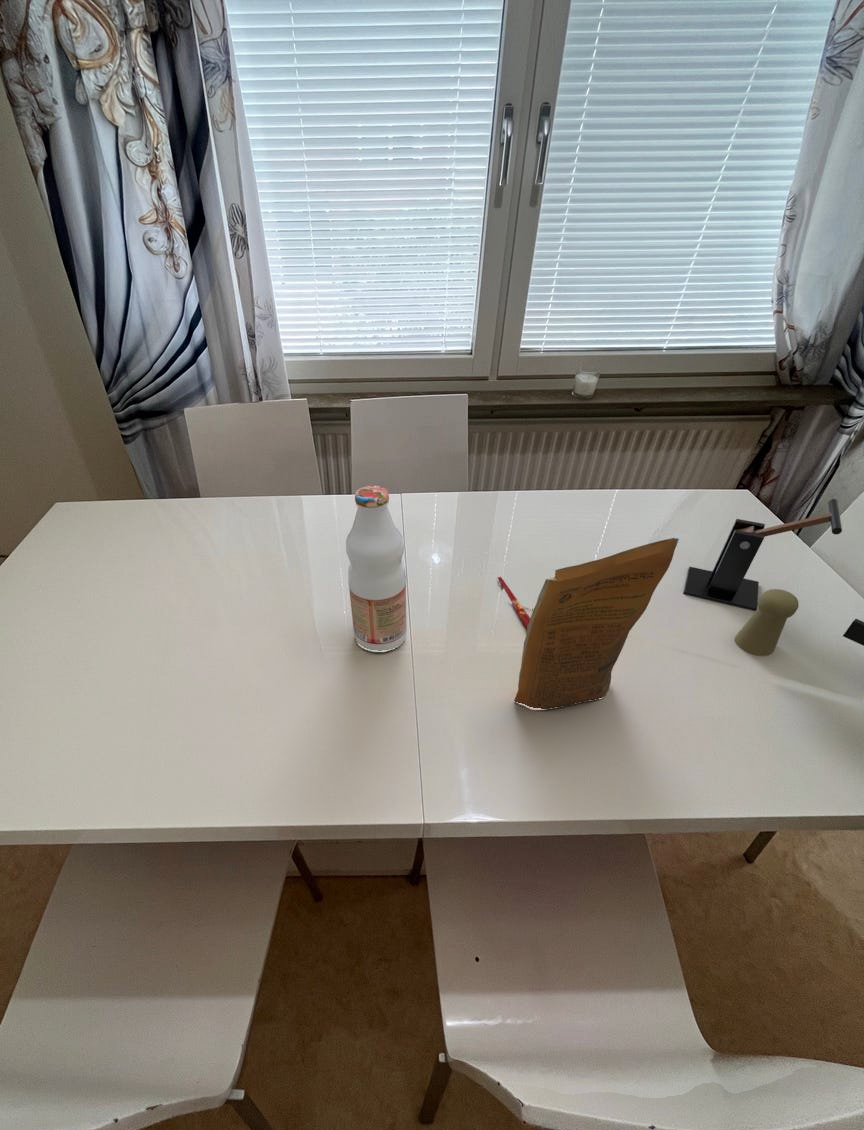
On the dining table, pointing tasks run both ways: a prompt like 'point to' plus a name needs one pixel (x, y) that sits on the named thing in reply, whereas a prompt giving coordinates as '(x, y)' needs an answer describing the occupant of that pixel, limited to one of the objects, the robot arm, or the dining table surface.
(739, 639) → the cork
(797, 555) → the dining table surface
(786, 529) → the wood and metal hammer
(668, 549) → the pancake mix bag
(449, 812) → the dining table surface
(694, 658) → the dining table surface
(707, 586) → the black lever stand
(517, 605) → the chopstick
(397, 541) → the fruit juice
